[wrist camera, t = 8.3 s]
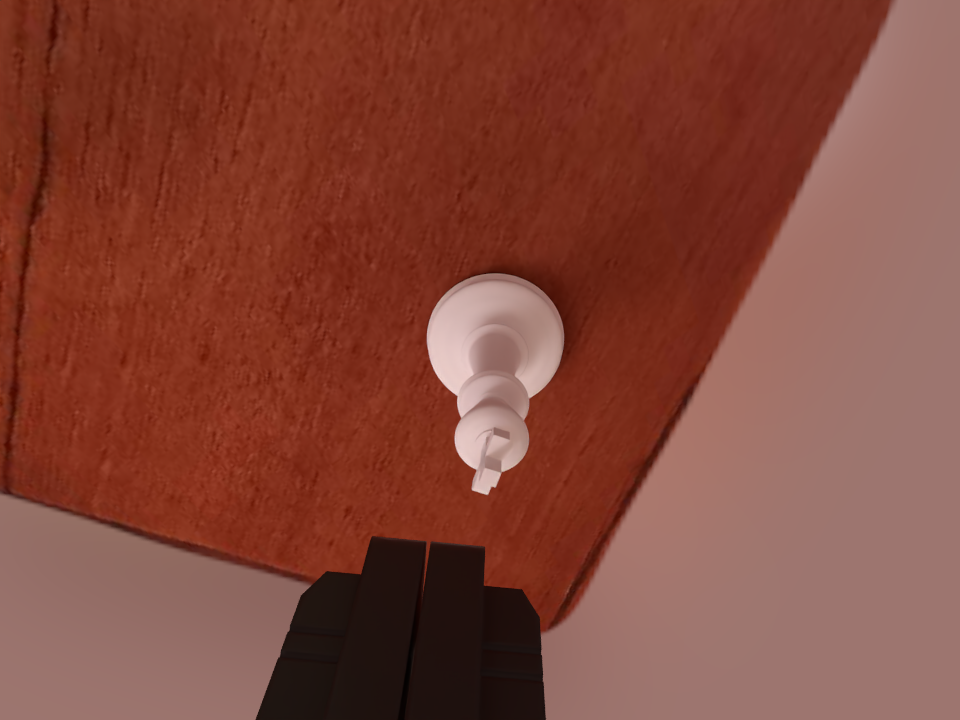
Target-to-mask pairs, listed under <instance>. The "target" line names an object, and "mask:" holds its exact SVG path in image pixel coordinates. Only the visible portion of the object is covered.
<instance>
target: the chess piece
mask: <svg viewBox="0 0 960 720" xmlns="http://www.w3.org/2000/svg"><path fill="white" fill-rule="evenodd" d="M427 346H428V352H429V357H430V361H431V364H432V366H433V369H434V371H435V372H436V374H437V376H438V377H439V379H440V380H441V381H442V383H443V384H444V385H445V386H446V387H447V388H448V389H449V390H450V391H452V392H453V393H454V394H456V395H457V396H458V399H457V406H458V411H459V414H460V416H461V418H462V419H461V420H460V422H459V423H458V425H457V428H456V431H455V446H456V449H457V452H458V454H459V455H460V457H461V458H462V460H463V461H464V462H465V463H466V464H468V465H469V466H470V467H472V468H474V469H476V470H477V471H476V474H475V476H474V479H473V482H472V490H473V491H476V492H480V493H483V494H486V495H488V493H489V491H490V488H491V486H492V487H495V488H496V485H497V483H498V480H499V478H500V475H501V472H503V471H506V470H508V469H510V468H512V467H514V466H515V465H517V464H518V463H519V462H520V461H521V460H522V458H523V457H524V455H525V454H526V452H527V449H528V445H529V433H528V429H527V427H526V424H525V422H524V419H525V417H526V415H527V413H528V409H529V398H531V397H533V396H534V395H536V394H537V393H538V392H540V391H541V390H542V389H543V388H544V387H545V386H546V385H547V384H548V383H549V381H550V380H551V379H552V377H553V376H554V374H555V372H556V371H557V368H558V366H559V363H560V360H561V356H562V352H563V347H564V329H563V324H562V320H561V317H560V315H559V313H558V310H557V309H556V307H555V305H554V304H553V302H552V301H551V300H550V298H549V297H548V296H547V295H546V294H545V293H544V292H543V291H542V290H541V289H539V288H538V287H537V286H535V285H534V284H532V283H530V282H529V281H527V280H524V279H522V278H519V277H516V276H513V275H508V274H499V273H491V274H483V275H478V276H474V277H471V278H469V279H466V280H464V281H462V282H460V283H458V284H457V285H455V286H454V287H453V288H451V289H450V290H449V291H448V292H447V293H446V294H445V295H444V296H443V297H442V298H441V299H440V301H439V302H438V303H437V305H436V307H435V308H434V310H433V312H432V315H431V317H430V320H429V324H428V330H427Z"/></svg>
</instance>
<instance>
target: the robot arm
mask: <svg viewBox="0 0 960 720" xmlns="http://www.w3.org/2000/svg"><path fill="white" fill-rule="evenodd" d="M426 544H427V543H426V541H417V540H407V539H396V538H385V537H375V536H372V538H371V540H370V544H369V547H368V551H367V555H366V559H365V562H364V566H363V570H362V573H361V575H360V574H350V573H339V572H329V571H327V572H325V573H324V574H323V575H322V576H321V577H320V578H319V579H318V580H317V581H316V582H315V583H314V584H313V585H312V586H311V587H310V588H309V589H307V590H306V591H305V592H304V593H303V594H302V595H301V597H300V600H299V603H298V605H297V608H296V611H295V614H294V616H293V619H292V622H291V624H290V631H289V632H288V633H287V635H286V638H285V641H284V644H283V646H282V649H281V655H280V658H278V660H277V663H276V666H275V668H274V671H273V674H272V676H271V679H270V682H269V685H268V687H267V690H266V693H265V696H264V698H263V701H262V704H261V706H260V709H259V712H258V715H257V717H256V720H546V717H545V700H544V683H543V668H542V655H541V634H540V617H539V616H538V614H537V613H536V611H535V610H534V608H533V606H532V605H531V603H530V602H529V600H528V598H527V597H526V595H525V594H524V592H523V590H522V589H512V588H501V587H491V586H484V563H485V547H483V546H473V545H462V544H451V543H441V542H431V545H430V551H429V558H428V565H427V571H426V578H425V585H424V573H425V560H426ZM423 585H424V592H423ZM422 598H423V599H422Z"/></svg>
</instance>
